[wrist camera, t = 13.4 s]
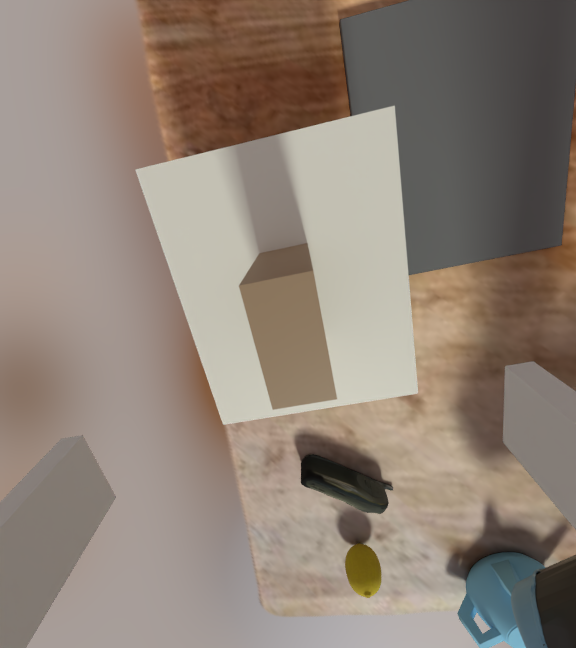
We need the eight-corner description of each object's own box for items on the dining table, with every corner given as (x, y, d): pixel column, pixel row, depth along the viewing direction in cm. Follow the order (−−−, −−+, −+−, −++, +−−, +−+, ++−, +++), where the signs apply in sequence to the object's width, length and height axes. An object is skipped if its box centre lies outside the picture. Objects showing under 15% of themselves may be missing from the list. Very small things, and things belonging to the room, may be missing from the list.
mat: (579, -43, 29) (587, -49, 28) (556, 244, 38) (561, 245, 37) (339, 23, 31) (340, 19, 30) (371, 280, 40) (372, 282, 39)
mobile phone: (298, 489, 46) (393, 524, 48) (307, 474, 45) (403, 510, 47) (298, 462, 51) (385, 495, 52) (307, 448, 50) (395, 482, 51)
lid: (389, 109, 21) (464, 42, 12) (413, 385, 29) (470, 480, 19) (143, 170, 23) (34, 154, 13) (225, 416, 30) (193, 517, 21)
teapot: (487, 533, 55) (529, 609, 45) (565, 555, 56) (623, 633, 46) (442, 588, 60) (471, 666, 50) (514, 607, 62) (556, 687, 52)
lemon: (335, 543, 57) (341, 596, 49) (360, 527, 55) (370, 580, 48) (357, 559, 58) (366, 612, 50) (381, 544, 56) (394, 597, 49)
